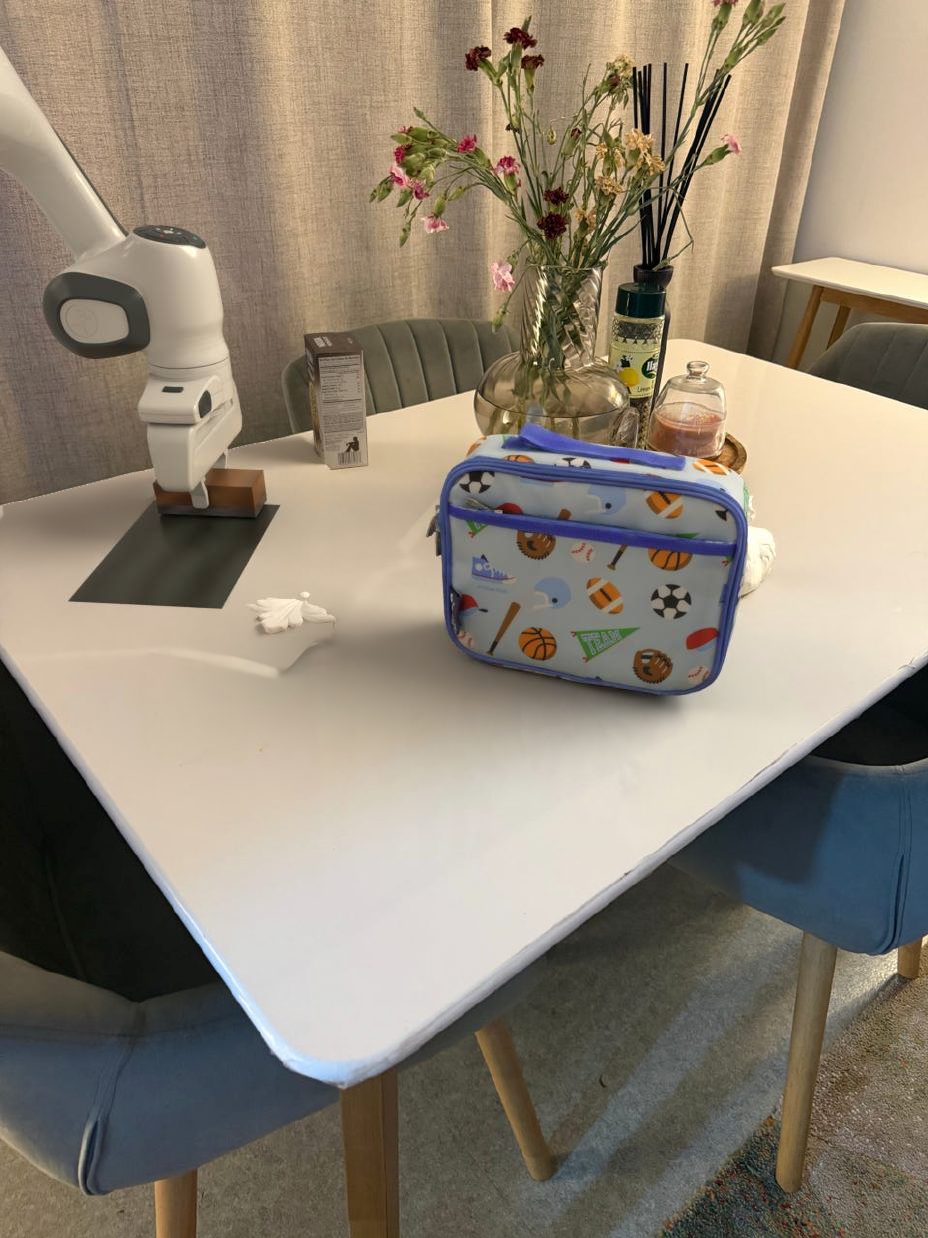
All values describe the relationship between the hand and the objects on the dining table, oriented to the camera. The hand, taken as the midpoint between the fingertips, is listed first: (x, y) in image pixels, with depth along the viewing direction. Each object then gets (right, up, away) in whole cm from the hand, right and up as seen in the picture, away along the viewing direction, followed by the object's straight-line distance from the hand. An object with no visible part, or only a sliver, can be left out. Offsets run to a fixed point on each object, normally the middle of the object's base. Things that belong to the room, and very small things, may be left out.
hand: (211, 494), depth 108 cm
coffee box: (+13, +8, +17) cm, 23 cm away
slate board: (-1, -8, -7) cm, 11 cm away
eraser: (0, -1, +1) cm, 2 cm away
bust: (+59, -11, -11) cm, 61 cm away
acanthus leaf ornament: (+13, -15, -18) cm, 27 cm away
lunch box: (+41, -19, -23) cm, 51 cm away
